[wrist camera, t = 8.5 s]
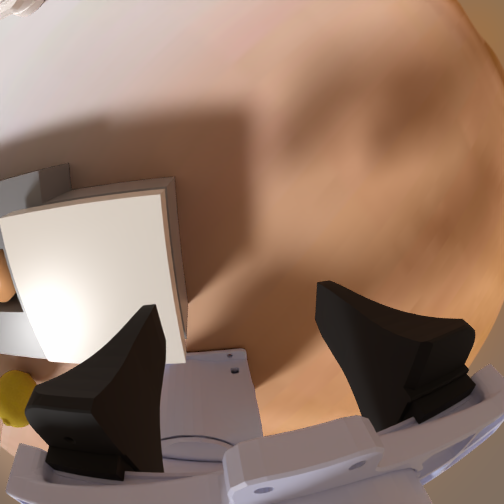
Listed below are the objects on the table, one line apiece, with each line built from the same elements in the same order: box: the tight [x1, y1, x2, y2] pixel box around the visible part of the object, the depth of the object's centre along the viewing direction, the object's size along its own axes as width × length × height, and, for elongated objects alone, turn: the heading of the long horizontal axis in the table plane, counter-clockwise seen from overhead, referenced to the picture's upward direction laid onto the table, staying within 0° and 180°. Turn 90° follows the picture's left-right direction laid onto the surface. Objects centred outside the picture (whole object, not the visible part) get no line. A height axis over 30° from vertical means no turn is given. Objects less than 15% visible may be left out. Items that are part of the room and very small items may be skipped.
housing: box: [0, 163, 188, 359], centre depth 17 cm, size 22×14×4 cm, turn 91°
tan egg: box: [0, 249, 16, 302], centre depth 17 cm, size 4×4×4 cm
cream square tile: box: [0, 189, 186, 364], centre depth 14 cm, size 10×10×2 cm
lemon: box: [0, 370, 36, 427], centre depth 19 cm, size 6×6×8 cm
